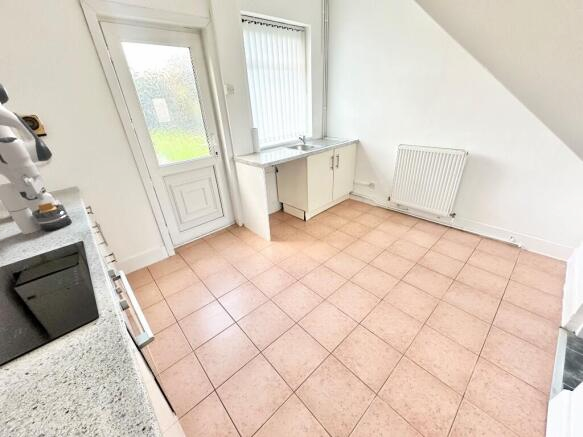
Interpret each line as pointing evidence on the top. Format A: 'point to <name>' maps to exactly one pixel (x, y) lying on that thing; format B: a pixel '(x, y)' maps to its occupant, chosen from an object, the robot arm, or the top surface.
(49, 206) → the cap
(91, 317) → the top surface
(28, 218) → the cylindrical container
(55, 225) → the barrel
